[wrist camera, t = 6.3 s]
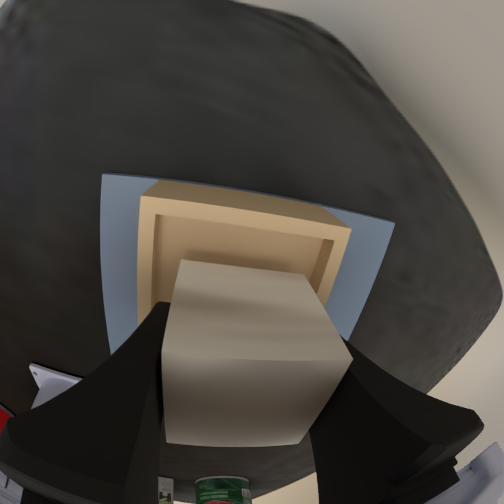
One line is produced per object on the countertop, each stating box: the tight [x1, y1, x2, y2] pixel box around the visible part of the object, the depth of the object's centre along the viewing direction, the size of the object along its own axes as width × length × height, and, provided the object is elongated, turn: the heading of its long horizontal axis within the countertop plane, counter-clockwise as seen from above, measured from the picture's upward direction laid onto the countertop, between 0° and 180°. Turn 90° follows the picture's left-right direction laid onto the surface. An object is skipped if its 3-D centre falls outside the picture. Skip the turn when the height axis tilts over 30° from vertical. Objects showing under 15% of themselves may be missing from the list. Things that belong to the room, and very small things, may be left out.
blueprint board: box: [100, 172, 395, 355], centre depth 15 cm, size 16×16×4 cm
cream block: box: [161, 259, 353, 447], centre depth 9 cm, size 4×4×4 cm
